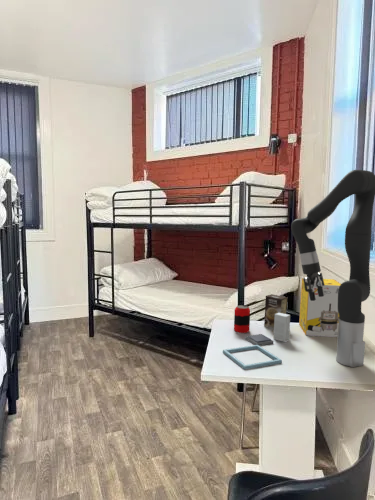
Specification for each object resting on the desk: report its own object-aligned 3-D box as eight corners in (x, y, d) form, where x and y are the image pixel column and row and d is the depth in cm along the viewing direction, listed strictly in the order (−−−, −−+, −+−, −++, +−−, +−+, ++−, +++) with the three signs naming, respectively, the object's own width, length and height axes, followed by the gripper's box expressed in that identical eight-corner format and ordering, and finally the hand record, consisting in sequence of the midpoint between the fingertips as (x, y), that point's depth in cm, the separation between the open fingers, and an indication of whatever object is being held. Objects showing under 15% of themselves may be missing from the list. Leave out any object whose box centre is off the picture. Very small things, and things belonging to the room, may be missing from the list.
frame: (281, 362, 143) (281, 359, 143) (244, 369, 137) (244, 366, 137) (257, 347, 159) (257, 344, 159) (222, 352, 152) (222, 349, 152)
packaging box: (331, 326, 190) (334, 279, 187) (340, 337, 174) (344, 285, 171) (299, 324, 192) (301, 277, 189) (305, 335, 176) (308, 284, 173)
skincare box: (289, 340, 169) (290, 314, 167) (285, 342, 166) (286, 316, 164) (277, 336, 173) (278, 312, 171) (273, 339, 170) (274, 314, 168)
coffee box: (263, 326, 188) (265, 295, 186) (270, 323, 192) (271, 293, 190) (279, 330, 181) (281, 299, 180) (285, 327, 186) (287, 296, 184)
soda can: (252, 330, 181) (253, 307, 179) (243, 334, 175) (244, 310, 174) (239, 327, 186) (240, 304, 184) (230, 330, 180) (231, 306, 179)
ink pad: (273, 343, 164) (273, 339, 164) (256, 346, 160) (256, 342, 160) (261, 336, 172) (262, 333, 172) (245, 339, 169) (245, 335, 168)
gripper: (310, 263, 154) (318, 301, 154) (324, 259, 164) (332, 294, 164) (294, 265, 159) (302, 302, 159) (309, 261, 169) (316, 295, 169)
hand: (317, 298), depth 161 cm, fingers open, 8 cm apart
